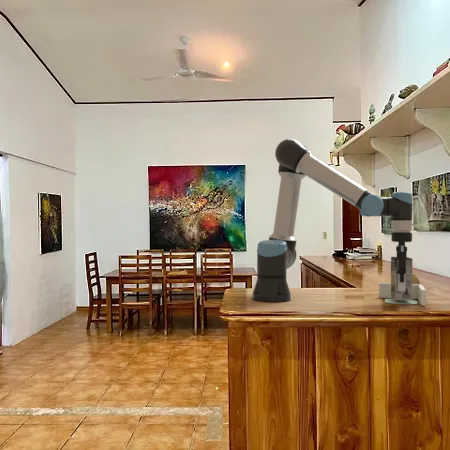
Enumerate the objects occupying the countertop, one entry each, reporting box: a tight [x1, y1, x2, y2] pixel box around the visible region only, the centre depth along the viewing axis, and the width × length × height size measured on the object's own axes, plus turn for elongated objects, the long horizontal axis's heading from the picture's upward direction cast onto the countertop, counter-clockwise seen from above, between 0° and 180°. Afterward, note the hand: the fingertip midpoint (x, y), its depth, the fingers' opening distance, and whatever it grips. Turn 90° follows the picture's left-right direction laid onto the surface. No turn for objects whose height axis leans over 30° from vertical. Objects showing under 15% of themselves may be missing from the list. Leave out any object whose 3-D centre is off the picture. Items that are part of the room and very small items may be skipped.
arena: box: [378, 282, 427, 306], centre depth 190 cm, size 16×18×6 cm
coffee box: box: [390, 256, 413, 300], centre depth 188 cm, size 9×6×16 cm
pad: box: [384, 298, 418, 305], centre depth 188 cm, size 12×9×1 cm
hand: (401, 289), depth 188 cm, fingers closed on coffee box, 10 cm apart
